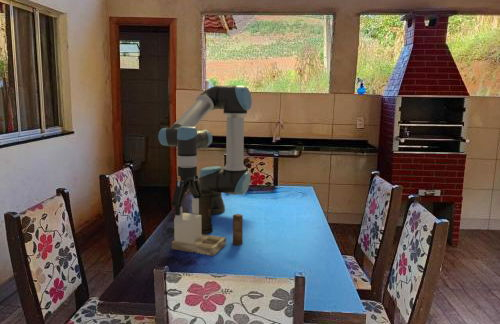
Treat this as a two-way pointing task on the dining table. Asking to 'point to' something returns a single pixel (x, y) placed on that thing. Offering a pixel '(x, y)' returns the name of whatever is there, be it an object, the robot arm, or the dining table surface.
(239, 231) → the peg
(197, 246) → the board
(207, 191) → the container
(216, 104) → the robot arm
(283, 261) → the dining table surface
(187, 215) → the block
